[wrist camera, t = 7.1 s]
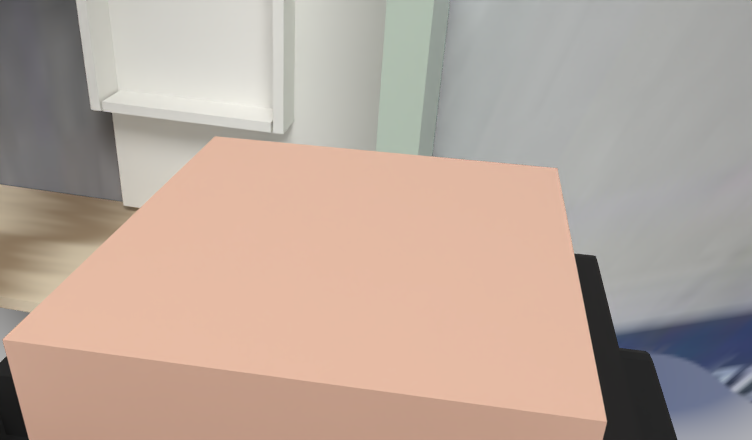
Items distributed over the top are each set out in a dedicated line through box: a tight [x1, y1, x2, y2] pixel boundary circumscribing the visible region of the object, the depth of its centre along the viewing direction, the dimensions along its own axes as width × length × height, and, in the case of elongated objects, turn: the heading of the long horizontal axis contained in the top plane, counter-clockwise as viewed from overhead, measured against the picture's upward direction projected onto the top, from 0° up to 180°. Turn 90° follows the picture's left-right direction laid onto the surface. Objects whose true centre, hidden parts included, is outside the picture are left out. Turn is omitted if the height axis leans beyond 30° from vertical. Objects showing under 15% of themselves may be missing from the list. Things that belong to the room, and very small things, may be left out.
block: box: [3, 136, 607, 440], centre depth 9 cm, size 5×5×5 cm
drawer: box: [76, 0, 450, 208], centre depth 23 cm, size 13×21×8 cm, turn 175°
